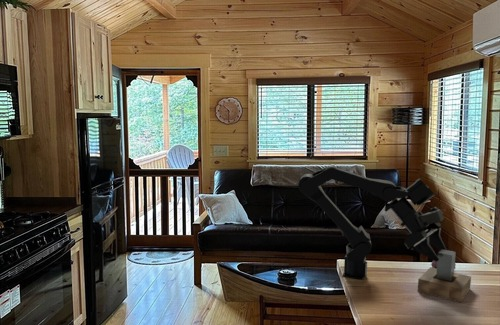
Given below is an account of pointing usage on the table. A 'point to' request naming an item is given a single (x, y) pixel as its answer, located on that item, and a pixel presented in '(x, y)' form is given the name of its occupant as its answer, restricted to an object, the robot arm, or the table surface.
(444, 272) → the grey rectangular block
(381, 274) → the table surface
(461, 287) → the brown square wooden frame
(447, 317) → the table surface
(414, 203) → the robot arm
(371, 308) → the table surface
